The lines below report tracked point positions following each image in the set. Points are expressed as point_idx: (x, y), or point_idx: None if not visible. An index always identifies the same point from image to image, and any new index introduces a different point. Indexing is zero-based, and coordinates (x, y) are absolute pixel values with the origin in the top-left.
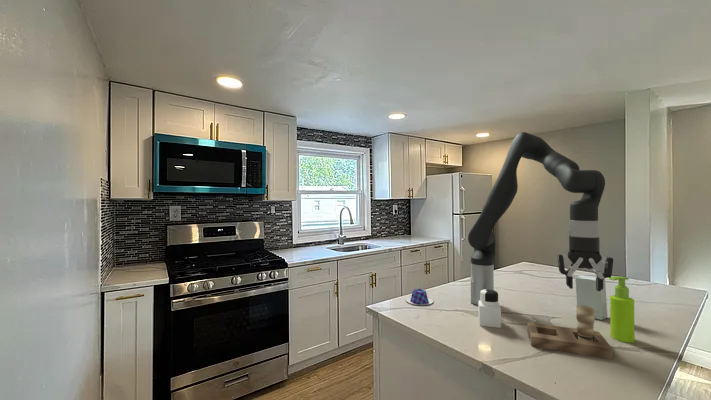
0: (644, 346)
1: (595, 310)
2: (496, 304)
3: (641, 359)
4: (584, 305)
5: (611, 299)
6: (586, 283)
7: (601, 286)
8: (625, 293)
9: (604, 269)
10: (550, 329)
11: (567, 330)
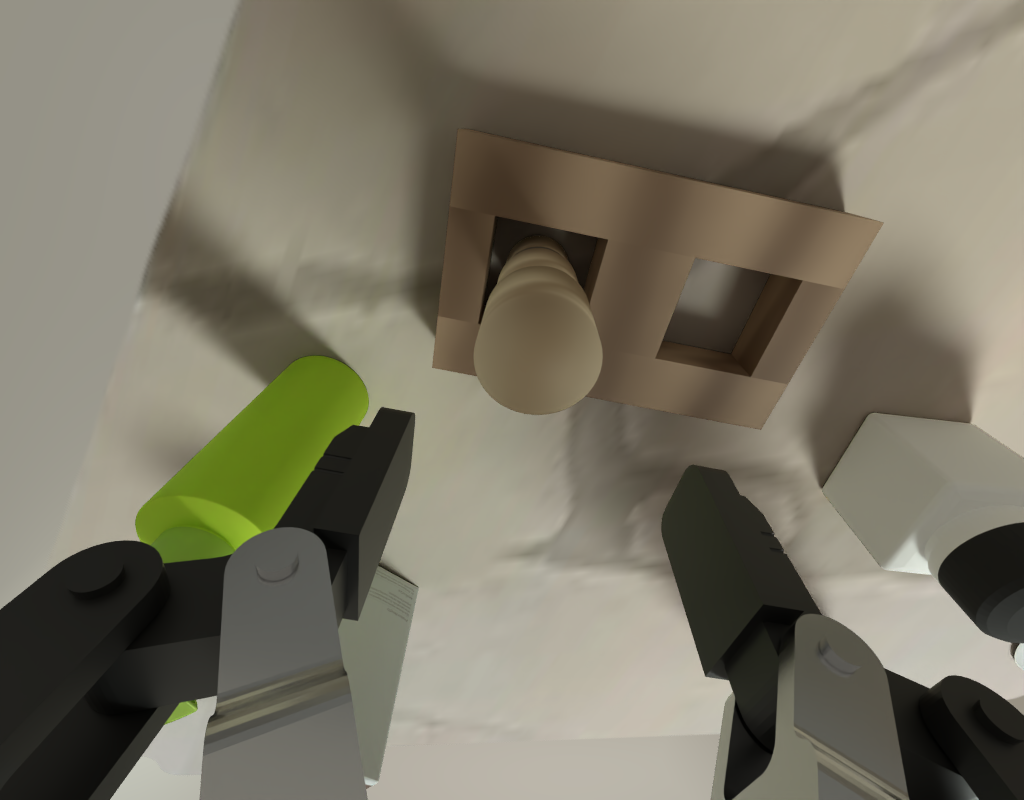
0: (259, 327)
1: None
2: (961, 522)
3: (320, 164)
4: (518, 409)
5: None
6: None
7: (349, 453)
8: None
9: (103, 797)
10: (678, 361)
11: None
